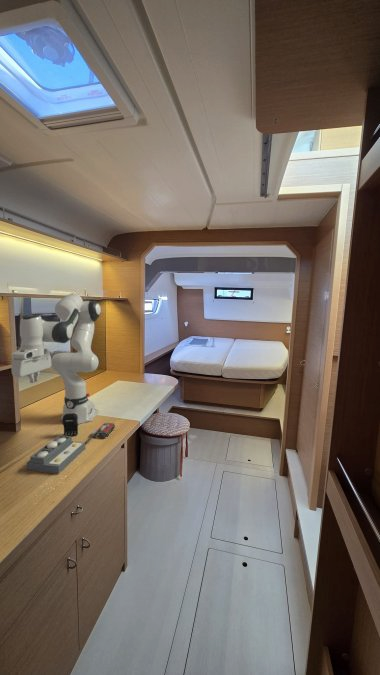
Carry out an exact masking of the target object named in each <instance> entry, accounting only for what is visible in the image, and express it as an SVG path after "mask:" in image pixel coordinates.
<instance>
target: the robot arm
mask: <svg viewBox="0 0 380 675" xmlns="http://www.w3.org/2000/svg"><path fill="white" fill-rule="evenodd" d="M101 307H102V306H101V304H100V302H98V301H95V300H84V299H82V297H81V295H79V294H77V293H70V294H67V295H66V296H64V297H62V298H61V299H60V300H59V301H58V302H57V303H56V304H55V306H54V313H55V314H56V316H57V317H58V318H59V319H60V320H61V321H46V320H44V319H43V318H42V316H41V315H40V314H32V313H31V314H26V315H23V316H22V317H21V318H20V323H19V336H20V340H21V341H20V348H18V349H17V350H15V351H14V352H12V353H11V355H10V357H11V359H12V360H11V374H12V377H14V378H23V377H26V376H27V377H28V379H29V383H30V384H35V383H36V382H38V381H39V377H40V373H41V371H44V370H47V369H49V368H52V370H54V371H55V372H56V373H57V374H58V375H59V376H60V377H61V380H62V381H63V386H64V400H63V401H64V404H63V406H62V415H61V417H60V419H61V420H62V421H63V416H64V414H66V413H77V414H78V425H80V424H84V423H89V422H92V421H93V420H94V419H93V418H96V416H97V415H98V414H99V412H100V410H99V409H97V408H96V406H95V403H94V402H92V401H91V400H90V399H89V398H90V397H91V393H90V392H89V393H88V392H87V382H86V380H85V379H84V378H82V377H80V376H79V375H78V374H77V373H92V372H95V371H96V370H97V369H98V368H99V367H98V366H99V362H100V360H99V358H98V356H97V354H95V353H94V352H93V351H92V343H93V342H92V341H93V338H94V334H95V322H96V321H98V319H99V317H100V316H101V315H102V308H101ZM70 340H71V341H70ZM69 341H70V345H71V347H72V348H73V350H75V351H76V352H59V353H55V354H54V355H52V356H51V354H50V350H48V349H47V348H45V344H44V343H45V342H46V343H58V344H59V343H60V344H66V343H68V342H69ZM98 411H99V412H98ZM97 413H98V414H97ZM96 414H97V415H96Z"/></svg>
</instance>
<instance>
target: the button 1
mask: <svg viewBox="0 0 380 675" xmlns="http://www.w3.org/2000/svg"><path fill="white" fill-rule="evenodd" d="M47 454H48V452H47V451H43V452H40V453H38V454H37V457H45V456H46V455H47Z"/></svg>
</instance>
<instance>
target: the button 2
mask: <svg viewBox="0 0 380 675" xmlns="http://www.w3.org/2000/svg"><path fill="white" fill-rule="evenodd" d="M65 440H66V438H59V439H57V440H56V441H57V442H61V443H62V442H64V441H65Z"/></svg>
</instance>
